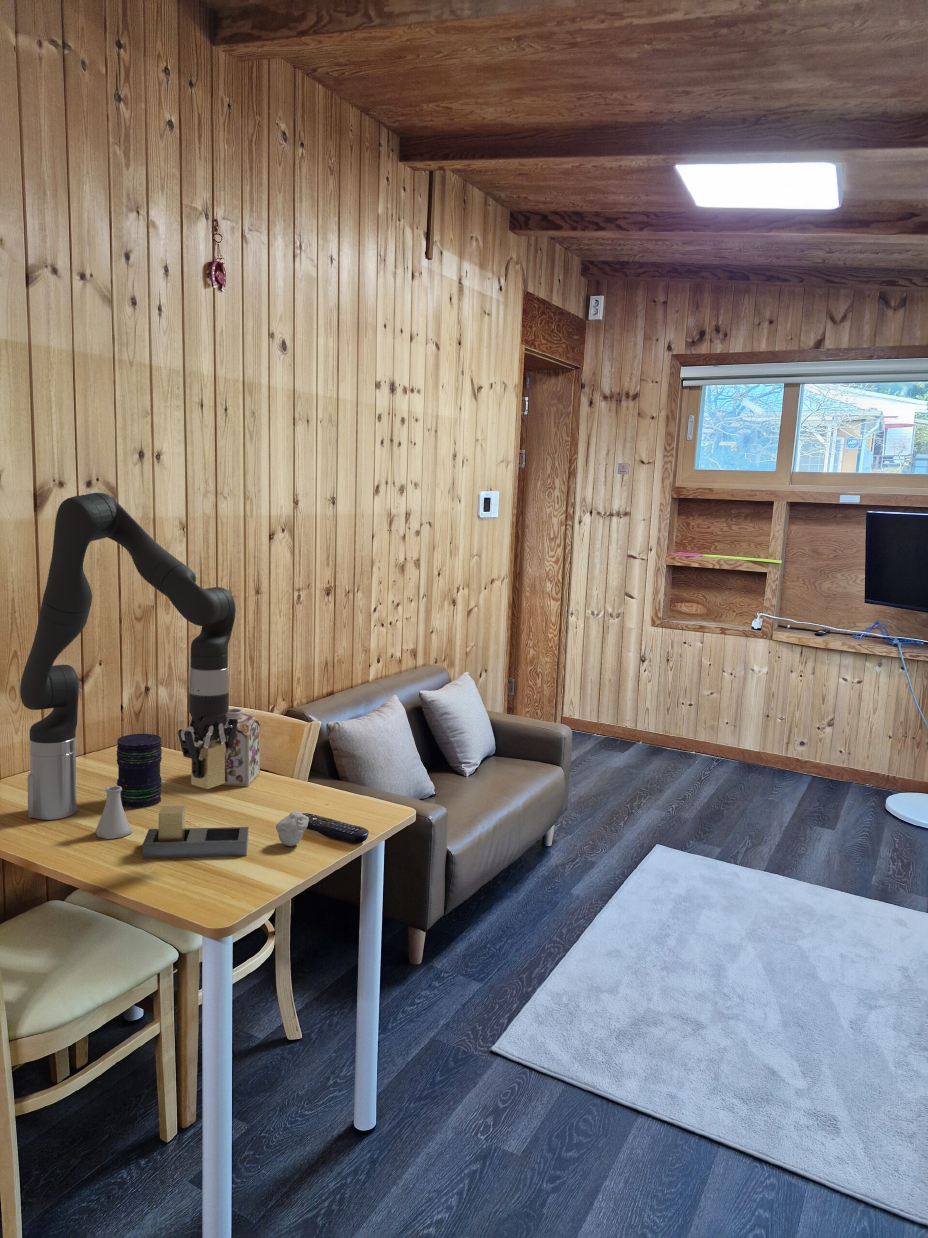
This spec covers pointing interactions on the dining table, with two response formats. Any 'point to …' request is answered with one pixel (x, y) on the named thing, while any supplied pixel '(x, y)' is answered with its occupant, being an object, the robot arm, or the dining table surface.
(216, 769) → the beige wooden block
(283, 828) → the frog figurine
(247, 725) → the decorative jar
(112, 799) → the flask
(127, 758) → the storage jar
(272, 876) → the dining table surface
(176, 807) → the block
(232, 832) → the grey slotted tray
